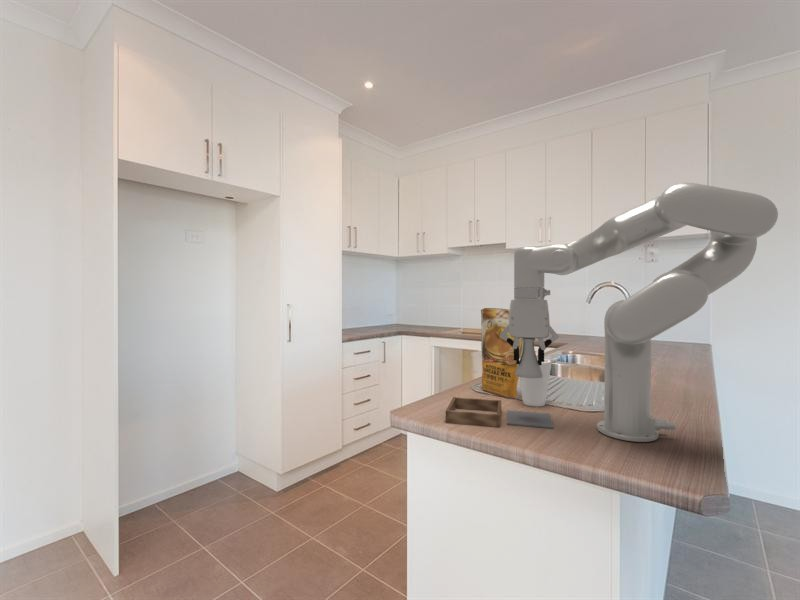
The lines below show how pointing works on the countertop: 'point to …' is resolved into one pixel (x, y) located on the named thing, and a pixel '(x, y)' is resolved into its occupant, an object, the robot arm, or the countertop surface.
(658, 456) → the countertop surface
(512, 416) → the charcoal mat
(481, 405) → the walnut frame
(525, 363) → the flask
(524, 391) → the foam cup
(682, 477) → the countertop surface
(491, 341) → the pancake mix bag
